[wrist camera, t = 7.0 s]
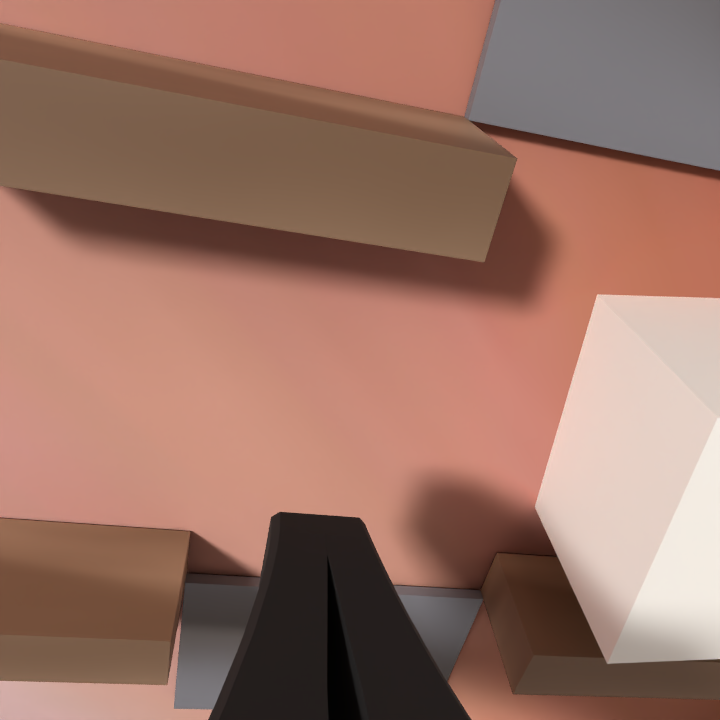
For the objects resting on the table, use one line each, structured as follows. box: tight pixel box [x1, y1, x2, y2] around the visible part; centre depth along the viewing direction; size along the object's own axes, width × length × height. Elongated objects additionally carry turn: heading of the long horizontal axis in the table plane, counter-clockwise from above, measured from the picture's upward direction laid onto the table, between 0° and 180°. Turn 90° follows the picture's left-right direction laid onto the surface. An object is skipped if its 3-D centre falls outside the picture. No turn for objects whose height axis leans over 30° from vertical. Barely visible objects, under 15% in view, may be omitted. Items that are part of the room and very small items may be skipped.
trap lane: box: [0, 0, 720, 709], centre depth 12 cm, size 24×21×4 cm
